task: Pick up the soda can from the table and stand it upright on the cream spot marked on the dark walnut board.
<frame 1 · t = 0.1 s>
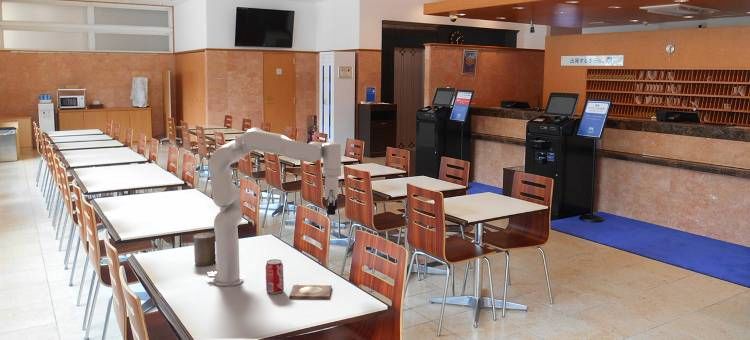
hand: (332, 212, 272), 31 cm above the table, tool pointing down, fingers open, 9 cm apart
layout board: (310, 293, 264), on the table
pillar candle: (205, 264, 303), on the table
soda can: (275, 292, 265), on the table
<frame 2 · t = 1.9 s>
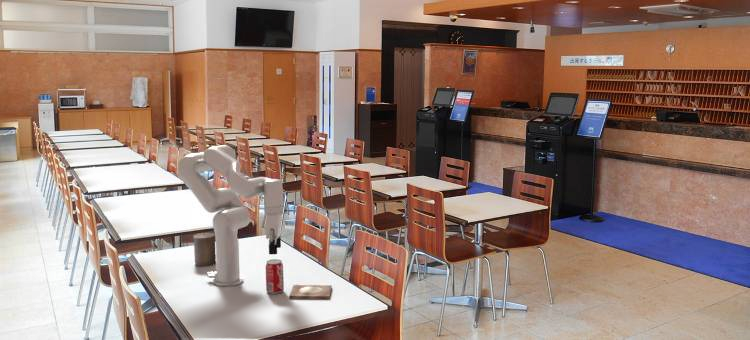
hand: (275, 250, 262), 18 cm above the table, tool pointing down, fingers open, 9 cm apart
nothing on the table moved.
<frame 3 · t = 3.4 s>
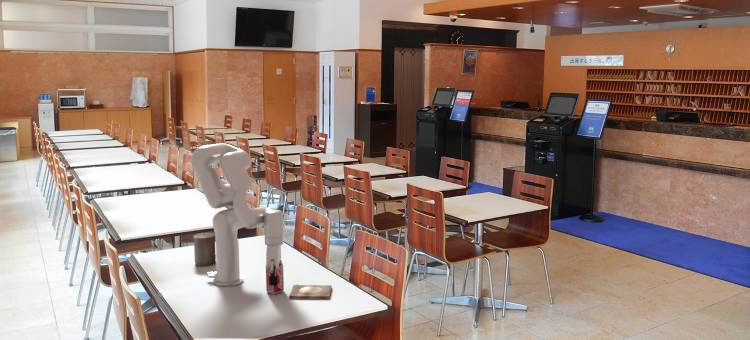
hand: (274, 281, 264), 4 cm above the table, tool pointing down, fingers closed on soda can, 7 cm apart
soda can: (275, 292, 265), on the table, touching gripper
everything else where it was.
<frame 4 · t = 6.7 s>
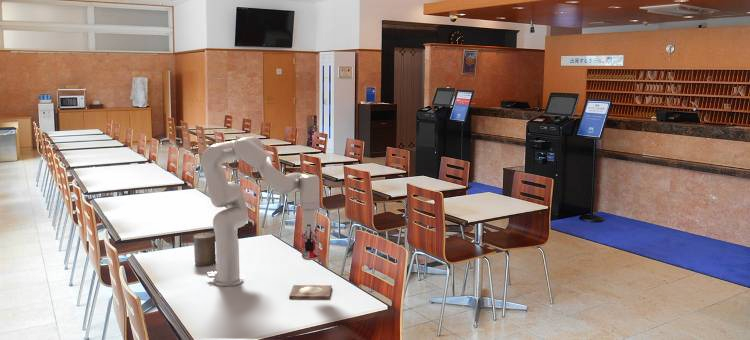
hand: (310, 248, 261), 19 cm above the table, tool pointing down, fingers closed on soda can, 7 cm apart
soda can: (310, 258, 261), point 15 cm above the table, touching gripper
everything else where it was.
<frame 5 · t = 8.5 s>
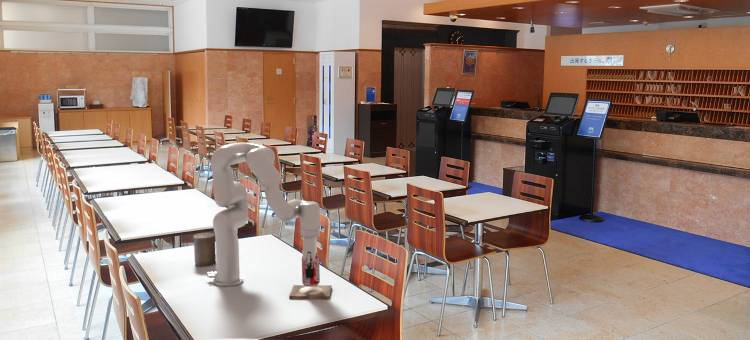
hand: (310, 274, 262), 8 cm above the table, tool pointing down, fingers closed on soda can, 7 cm apart
soda can: (310, 284, 263), point 4 cm above the table, touching gripper
everything else where it was.
when the fingers open (7 cm above the table, at t = 9.8 s): soda can stays where it is, resting on layout board.
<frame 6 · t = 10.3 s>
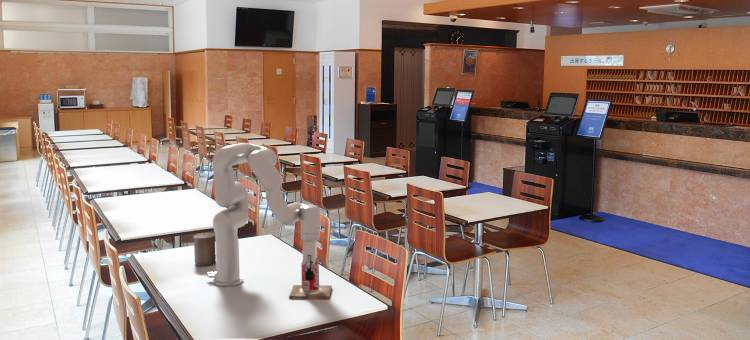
hand: (310, 276, 262), 7 cm above the table, tool pointing down, fingers open, 9 cm apart
soda can: (310, 290, 264), point 1 cm above the table, touching layout board
everything else where it was.
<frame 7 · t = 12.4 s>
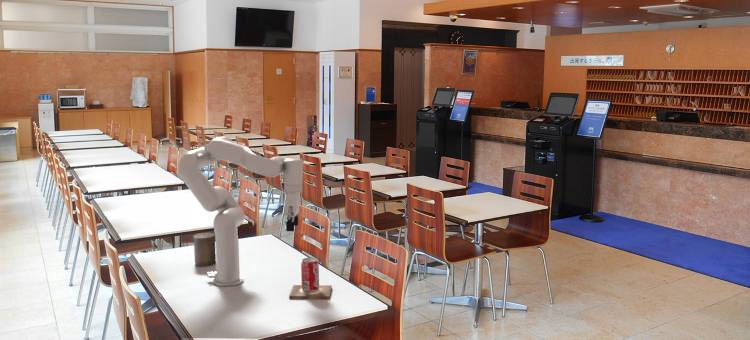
hand: (292, 228, 270), 25 cm above the table, tool pointing down, fingers open, 9 cm apart
nothing on the table moved.
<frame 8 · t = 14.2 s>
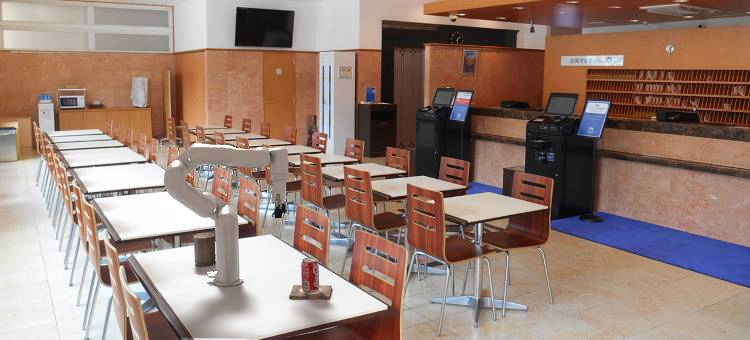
hand: (280, 215, 278), 28 cm above the table, tool pointing down, fingers open, 9 cm apart
nothing on the table moved.
at the end: soda can 0.2 cm off-centre on the layout board, point 1.1 cm above the layout board's base; soda can tilted 0°; the gripper is holding nothing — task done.
